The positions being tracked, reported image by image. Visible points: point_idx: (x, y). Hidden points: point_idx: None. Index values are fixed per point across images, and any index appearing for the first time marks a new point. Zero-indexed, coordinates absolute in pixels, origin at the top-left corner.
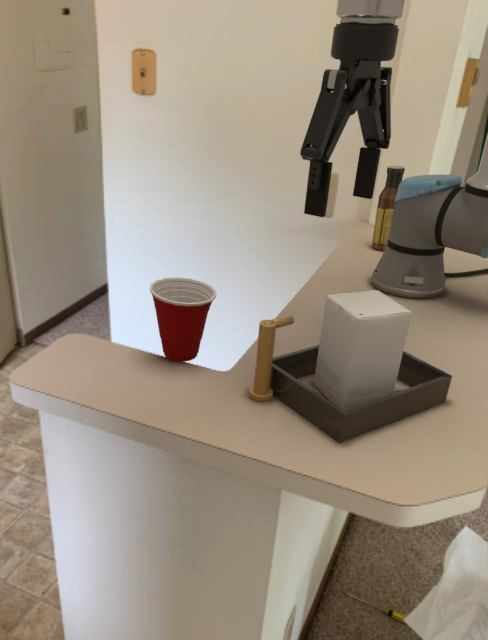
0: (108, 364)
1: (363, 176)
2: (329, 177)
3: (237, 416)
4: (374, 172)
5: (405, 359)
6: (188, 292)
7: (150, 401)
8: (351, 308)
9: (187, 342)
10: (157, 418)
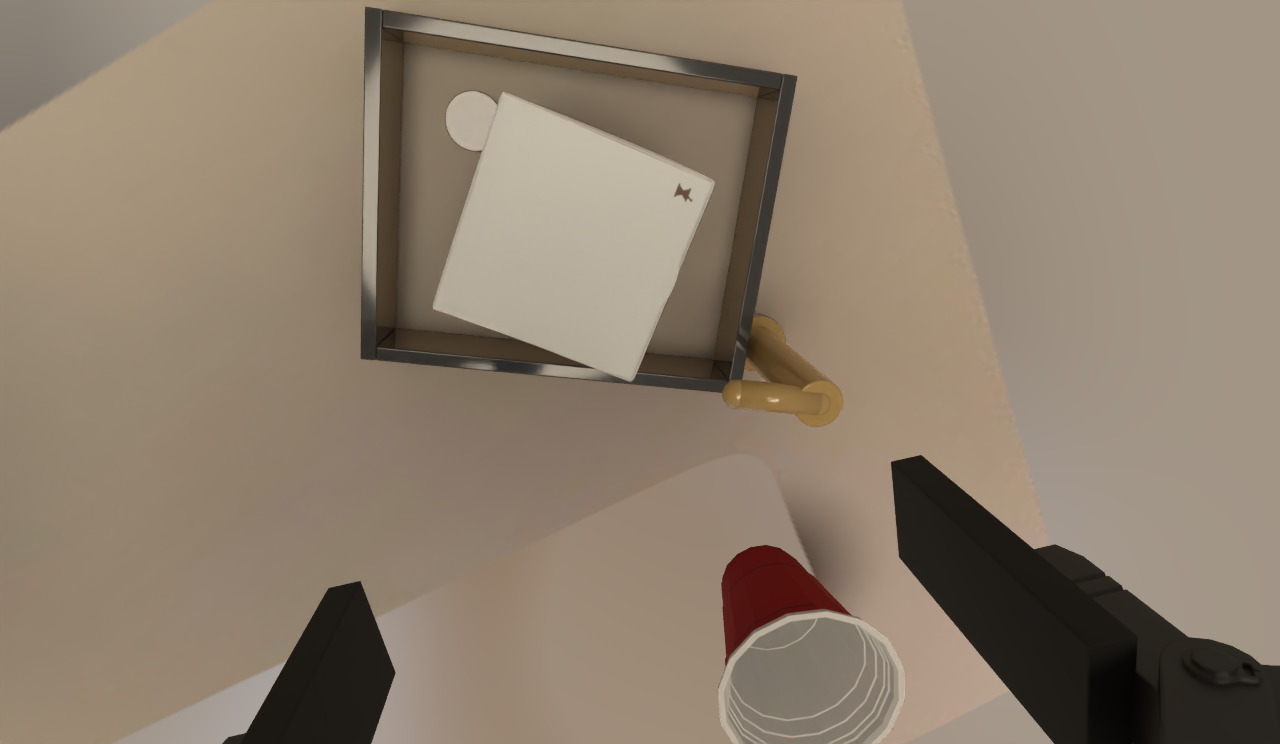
0: (906, 617)
1: (342, 729)
2: (1037, 574)
3: (858, 307)
4: (301, 699)
5: (382, 181)
6: (742, 711)
7: (946, 455)
8: (665, 247)
9: (797, 569)
10: (981, 396)
